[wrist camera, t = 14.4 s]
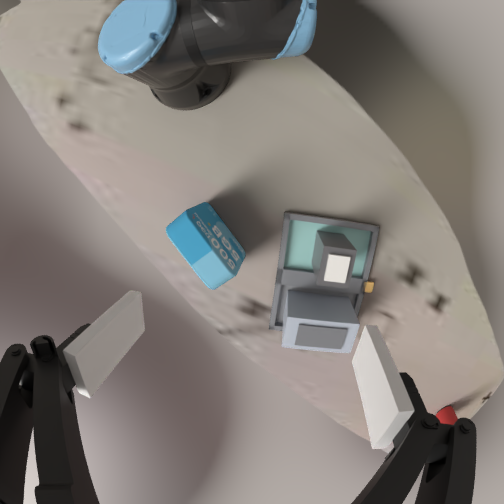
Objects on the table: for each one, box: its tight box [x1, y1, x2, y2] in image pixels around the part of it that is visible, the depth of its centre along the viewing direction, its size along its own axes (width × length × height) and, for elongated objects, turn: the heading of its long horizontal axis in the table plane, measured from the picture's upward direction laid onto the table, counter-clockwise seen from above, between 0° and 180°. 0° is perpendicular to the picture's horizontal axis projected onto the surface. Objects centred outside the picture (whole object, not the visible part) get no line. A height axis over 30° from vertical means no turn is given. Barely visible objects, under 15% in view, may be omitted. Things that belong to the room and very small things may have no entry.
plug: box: [311, 230, 357, 289], centre depth 43 cm, size 6×5×10 cm
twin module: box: [282, 290, 360, 353], centre depth 47 cm, size 6×12×10 cm, turn 84°
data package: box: [166, 202, 246, 290], centre depth 44 cm, size 12×4×12 cm, turn 37°
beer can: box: [436, 406, 458, 425], centre depth 52 cm, size 7×7×12 cm
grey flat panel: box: [269, 212, 379, 331], centre depth 49 cm, size 23×18×2 cm
